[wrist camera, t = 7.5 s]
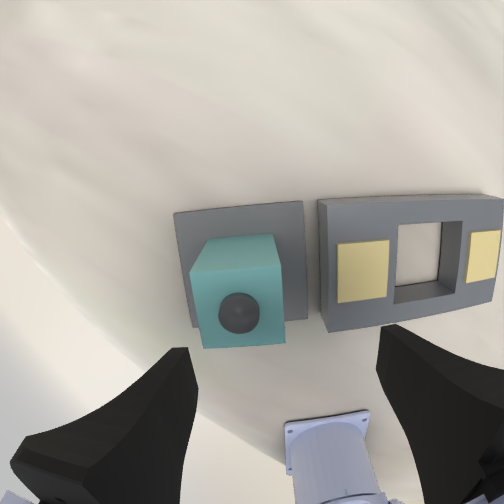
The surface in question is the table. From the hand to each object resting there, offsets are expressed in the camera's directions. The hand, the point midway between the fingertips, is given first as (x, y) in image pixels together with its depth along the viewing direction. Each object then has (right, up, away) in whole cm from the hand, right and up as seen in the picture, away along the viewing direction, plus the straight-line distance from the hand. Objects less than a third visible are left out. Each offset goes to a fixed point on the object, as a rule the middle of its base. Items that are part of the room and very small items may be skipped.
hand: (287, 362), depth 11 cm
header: (+10, +4, +9) cm, 14 cm away
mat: (-2, +3, +9) cm, 10 cm away
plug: (-2, +3, +9) cm, 10 cm away
